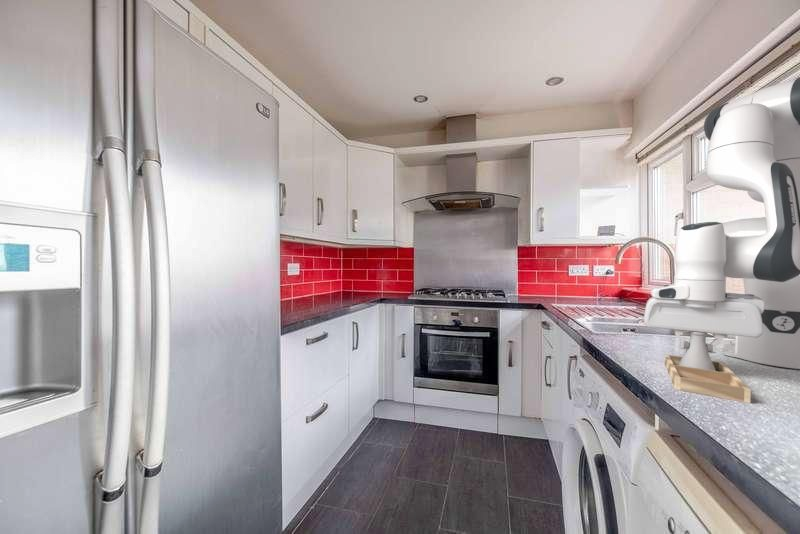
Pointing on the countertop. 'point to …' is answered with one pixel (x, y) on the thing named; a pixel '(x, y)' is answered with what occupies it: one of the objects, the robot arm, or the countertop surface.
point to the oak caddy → (707, 380)
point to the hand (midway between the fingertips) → (697, 350)
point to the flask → (697, 353)
